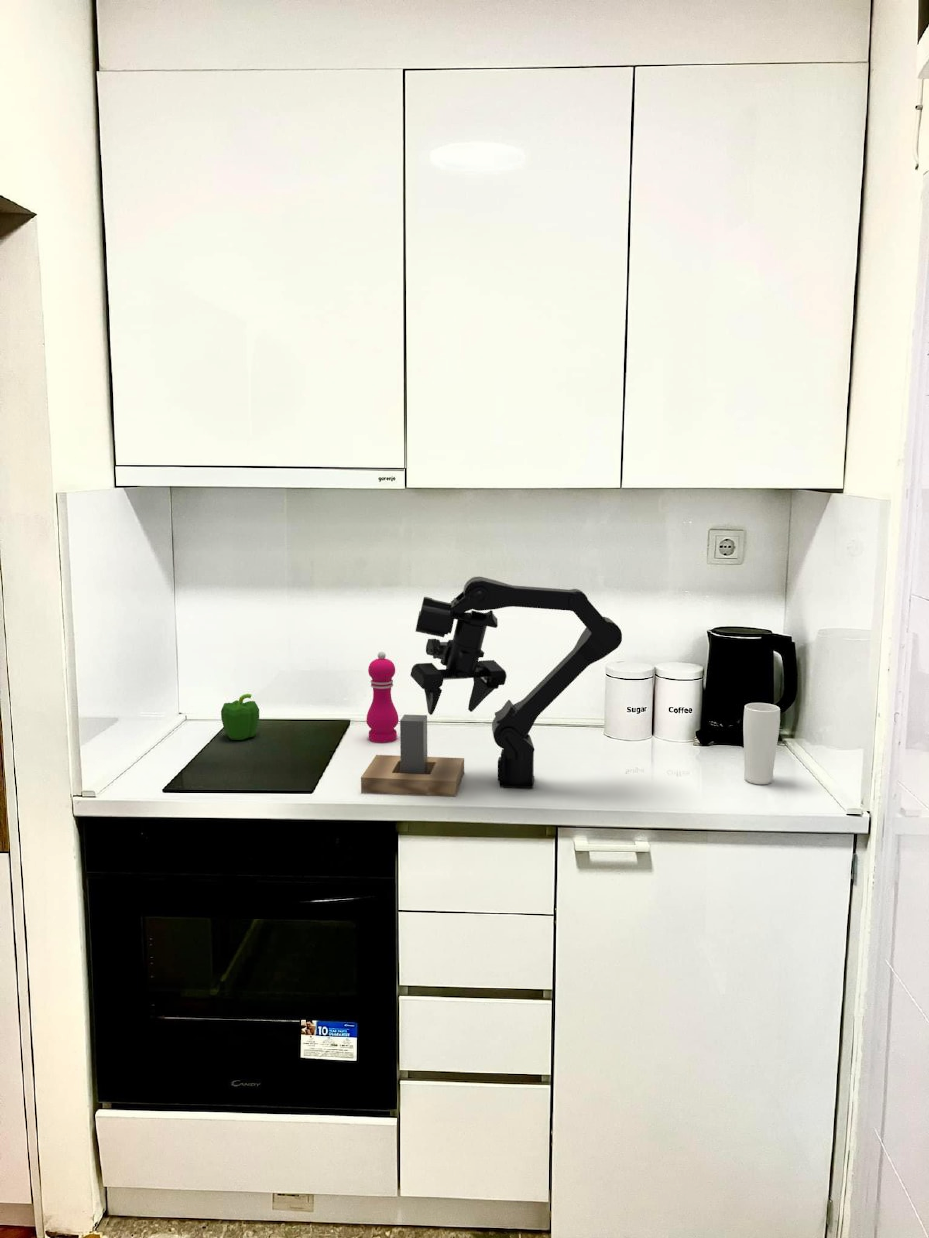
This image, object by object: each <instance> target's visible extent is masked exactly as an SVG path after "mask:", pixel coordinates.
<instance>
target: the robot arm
mask: <svg viewBox="0 0 929 1238" xmlns="http://www.w3.org/2000/svg"><path fill="white" fill-rule="evenodd" d="M463 586H464V587H463V590H462V591H461V592H460V593H459V594H458V595H457V596H456V597H454V598H453V599H452V600H451V601H450V602H447V601H443V600H442V601H441V600H437V599H434V598H432V597H429V596H424V597H423V600H422V604H421V608H420V611H419V612H418V616H417V620H416V626H415V632H416V633H420V634H426V635H430V636H436V637H438V638H439V637H441V638H445V637H446V636H445V635H448V634H451V633H452V631H453V626H454V622H455V620H457V621H456V624H455V629H454V633H453V637H452V639H448V640H447V641H440V639H438V638H428V639H427V642H426V645H425V653H426V655H428V656H431V657H432V658H433V659H436V660H437V659H438V660H440V664H441V665H442V666H445V668H444V669H438V668H437V666H436V665H434V663H432V662H423V663H422V662H421V663H415V664H414V665H413V666H412V667H411V671H410V675H409V676H410V677H411V678H412V679H413V680H414V681H415V683H417V685H418V686H419V687H421V689H423V690H424V695H425V701H426V707H427V712H428V714H429V715H430V716H432V715H433V714H434V712H435V710H436V708H437V705H438V702H439V699H440V697H441V695H442V691H443V690H442V688H441V687H442V686H443V684H444V681H445V680H446V681H447V680H461V679H462V680H464V679H473V685H472V690H471V693H470V698H469V700H468V709H467V710H468V711H469V712H471V713H472V712H473V711H474V710H475V709H476V708H477V707H478V706H479V705H480V704H481V703H482V702H483V701H484V700H485V699H486V698H487V697H488V696H489V695H490V694H491V693H492V692H493V691H494V690H497V689H499V688H500V686H504V685H505V684H506V681H507V677H508V676H507V671H506V670H505V669H504V668H503V667H502V666H500V665H499V664H498V663H497V662H496V661H495V660H494V659H492V660H491V659H490V660H488V659H487V660H480V658H484V656H485V652H484V651H483V650H482V647H483V643H484V638H485V636H486V631H487V628H488V627H490V628H495V629H497V628H498V625H499V624H498V622H499V621H498V618H497V617H496V615H495V614H494V611H493V610H498V609H504V608H510V607H511V608H512V607H513V608H514V607H515V608H518V607H519V608H531V609H541V610H543V609H544V610H558V611H559V610H560V611H570V612H573V614H575V615H576V617H578V619H579V620H580V621H581V623H582V624H583V625H584V626H585V628H584V630H583V632H581V633H580V635H579V637H578V640H577V642H576V644H575V646H574V647H573V648H572V650H571V651H570V652H568V654H567V655H566V656H565V657H564V658H563V659H562V660H561V661H560V662H559V663H558V664H557V665H556V666H555V667H554V668H553V669H552V670H551V671H550V672H549V673H548V674H546V676H545V677H544V678H543V679H542V680H541V681H540V682H539V683H538V684H536V686H535V687H534V688H533V689H532V690H531V691H530V692H528V694H526V696H525V697H524V698H523V699H522V700H520V701H518V702H515V703H513V702H512V701H511V700H510V699H508V700H507V701H506V702H505V703H504V705H503V706H502V708H500V709H499V710H497V711H495V712H494V716H495V717H494V718H493V720H492V722H491V732H492V736H493V740H494V743H495V744H496V746H498V747H500V748H501V752H500V756H499V757H498V759H497V781H498V782H499V783H498V784H499V785H498V786H499V787H500V788H515V789H520V788H521V789H533V788H534V783H535V775H534V768H535V767H534V765H535V764H534V762H535V761H534V759H535V758H534V757H535V756H534V755H535V750H536V749H535V746H534V743H533V740H532V737H531V735H530V734H529V732H530V731H531V729H532V727H533V726H534V724H535V722H536V720H537V718H538V717H539V716H540V715H541V713H543V712H544V710H546V709H547V708H548V706H550V705H551V704H552V703H553V702H554V701H555V700H556V699H557V698H558V697H559V696H560V695H561V694H562V692H564V691H565V690H566V689H567V688H568V687H569V686H570V685H571V683H572V682H574V681H575V680H576V679H577V678H578V677H579V676H580V675H581V674H582V673H583V672H584V671H585V670H586V669H587V668H588V667H589V666H591V665H592V664H594V663H596V662H598V661H600V660H601V659H604V658H606V657H607V656H609V654H611V653H612V652H614V651H615V650H616V649H617V648H619V647H620V645H621V643H622V641H623V634H622V630H621V629H620V626H618V625H617V623H616V622H614V621H613V620H612V619H611V618H609V617H606V616H602V614H601V613H600V611H598V609H596V607H595V606H594V605H593V604H592V602H590V600H589V598H588V597H587V595H586V593H584V592H583V591H582V590H581V589H578V588H572V589H565V588H554V587H553V588H552V587H540V586H528V585H527V586H526V585H525V586H522V585H512V584H508V583H505V582H502V581H499V580H495V579H493V578H488V577H483V576H473V577H471V578H470V579H469V580H467V581H466V583H465V584H464V585H463ZM469 611H470V612H469ZM481 611H487V612H481Z"/></svg>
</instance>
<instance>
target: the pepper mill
mask: <svg viewBox="0 0 929 1238" xmlns="http://www.w3.org/2000/svg"><path fill="white" fill-rule="evenodd" d="M386 656H387V655H386V653H385V652H384V651H380V652H378V653H377V658H376V659H374V660H372V661H371V662H370V663H369V666H368V669H367V670H368V671H367V672H368V674H369V676H370V677H371V680H370V687H371V688H372V691H373V692H372V702H371V704H370V706H369V709H368V711H367V714H366V721H365V723H366V724H367V726H368V727H369V728H370V729H369V730H368V740H369V741H371V742H373V743H381V744H382V743H389V742H394V741H396V739H398V736H397V735H398V734H397V730H396V729H395V728H396V727H397V725H398V724H399V722H400V721H399V715H398V711H397V709H396V707H395V704H394V703H393V698H392V693H391V692H392V688H394V680H393V679H392V678H393V677H394V676H395V674H396V666H395V663H393V661H392V660H390V659H388V658H386Z"/></svg>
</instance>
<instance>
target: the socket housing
mask: <svg viewBox="0 0 929 1238" xmlns="http://www.w3.org/2000/svg"><path fill="white" fill-rule="evenodd" d="M464 774H465V758H464V757H445V756H443V757H442V756H441V757H440V756H427V774H406V773H401V755H392V754H391V755H389V754H376V755H375V756H374V758H373V759H372V760H371V762H370V764H368V766H367V768H366V769H365V771H364V772H363V773H362V774H361V776H360V792H361V793H364V794H366V793H367V794H389V795H409V796H410V795H412V796H435V797H456V795H457V793H458V790H459V788H460V784H461V782H462V780H463V777H464Z"/></svg>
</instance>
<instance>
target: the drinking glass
mask: <svg viewBox="0 0 929 1238" xmlns="http://www.w3.org/2000/svg"><path fill="white" fill-rule="evenodd" d="M742 719H743V723H742V725H743V726H742V728H743V729H742V732H743V733H742V734H743V752H744V753H743V754H744V755H743V756H744V757H743V759H744V772H743V773H744V776H743V777H744V780H745V781H746V782H748V783H751V784H754V785H768V784H771V783H772V782H773V778H774V768H775V760H776V754H777V747H778V742H779V741H778V739H779V733H780V725H781V708H780V707H779V706H777V705H776V704H771V703H765V702H750V703H747V704H745V705H744V709H743V718H742Z"/></svg>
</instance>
